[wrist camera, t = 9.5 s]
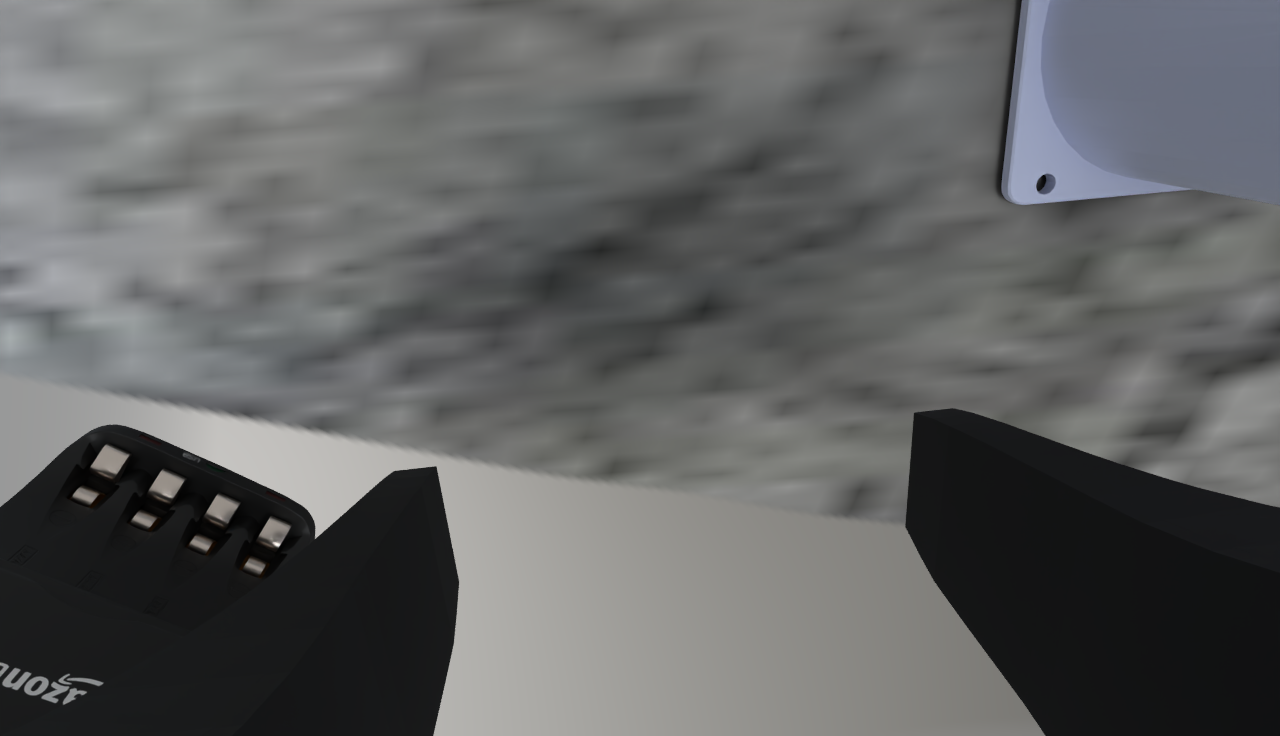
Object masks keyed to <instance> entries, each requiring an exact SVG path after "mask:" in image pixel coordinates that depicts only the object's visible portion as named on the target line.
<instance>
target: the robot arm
mask: <svg viewBox="0 0 1280 736" xmlns="http://www.w3.org/2000/svg"><path fill="white" fill-rule="evenodd" d="M1044 174H1045V176H1046V184H1045V186H1044V187H1043V188H1042V189H1041V190H1040V191H1037V189H1036V184H1037V181H1038V179H1039V178H1040V177H1041V176H1042V175H1044ZM1001 188H1002V194H1003V196H1004V198H1005V199H1006V200H1008V201H1009V202H1011V203H1015V204H1020V205H1029V204H1040V203H1051V202H1062V201H1072V200H1083V199H1094V198H1105V197H1116V196H1127V195H1138V194H1148V193H1159V192H1170V191H1181V190H1192V189H1194V190H1199V191H1205V192H1210V193H1215V194H1221V195H1226V196H1232V197H1237V198H1243V199H1248V200H1254V201H1259V202H1264V203H1270V204H1275V205H1280V0H1022V4H1021V13H1020V22H1019V31H1018V40H1017V49H1016V58H1015V67H1014V76H1013V85H1012V94H1011V103H1010V112H1009V121H1008V130H1007V139H1006V148H1005V157H1004V166H1003V175H1002V184H1001ZM905 527H906V529H907V530H908V533H909V534H910V537H911V539H912V540H913V543H914V544H915V546H916V548H917V551H918V552H919V554H920V556H921V558H922V560H923V562H924V563H925V565H926V567H927V569H928V571H929V572H930V574H931V576H932V578H933V580H934V581H935V583H936V584H937V586H938V587H939V589H940V590H941V591H942V593H943V594H944V596H945V597H946V598H947V600H948V601H949V603H950V604H951V605H952V607H953V608H954V609H955V611H956V612H957V614H958V615H959V616H960V618H961V619H962V620H963V622H964V623H965V625H966V626H967V627H968V628H969V630H970V631H971V633H972V634H973V635H974V637H975V638H976V639H977V641H978V642H979V643H980V645H981V646H982V648H983V649H984V650H985V652H986V653H987V654H988V656H989V657H990V658H991V660H992V661H993V662H994V664H995V665H996V666H997V668H998V669H999V670H1000V672H1001V673H1002V675H1003V676H1004V677H1005V679H1006V680H1007V681H1008V683H1009V684H1010V685H1011V687H1012V688H1013V689H1014V691H1015V692H1016V693H1017V695H1018V696H1019V698H1020V699H1021V700H1022V701H1023V703H1024V704H1025V706H1026V707H1027V709H1028V710H1029V712H1030V713H1031V715H1032V716H1033V718H1034V719H1035V721H1036V722H1037V723H1038V725H1039V727H1040V728H1041V730H1042V731H1043V733H1044V734H1045V735H1046V736H1280V508H1279V507H1274V506H1269V505H1265V504H1261V503H1257V502H1253V501H1249V500H1245V499H1241V498H1237V497H1233V496H1229V495H1225V494H1221V493H1217V492H1213V491H1209V490H1205V489H1201V488H1197V487H1194V486H1190V485H1187V484H1183V483H1180V482H1176V481H1173V480H1169V479H1166V478H1163V477H1160V476H1157V475H1153V474H1150V473H1147V472H1144V471H1141V470H1137V469H1134V468H1131V467H1128V466H1125V465H1121V464H1118V463H1116V462H1113V461H1110V460H1107V459H1104V458H1101V457H1098V456H1095V455H1092V454H1089V453H1086V452H1083V451H1080V450H1078V449H1075V448H1072V447H1069V446H1066V445H1064V444H1061V443H1058V442H1055V441H1052V440H1050V439H1047V438H1044V437H1041V436H1039V435H1036V434H1033V433H1030V432H1027V431H1025V430H1022V429H1019V428H1016V427H1014V426H1011V425H1008V424H1005V423H1002V422H999V421H996V420H993V419H990V418H987V417H984V416H981V415H978V414H974V413H971V412H967V411H963V410H958V409H953V408H952V409H943V410H934V411H925V412H916V413H914V421H913V434H912V447H911V460H910V473H909V486H908V499H907V512H906V526H905ZM458 588H459V579H458V574H457V569H456V564H455V559H454V554H453V549H452V544H451V538H450V533H449V528H448V523H447V518H446V513H445V508H444V503H443V498H442V493H441V487H440V483H439V477H438V473H437V467H426V468H418V469H409V470H400V471H394V472H392V473H391V474H390V475H388V476H387V477H386V478H384V479H383V480H382V481H381V482H379V483H378V484H377V485H376V486H375V487H374V488H373V489H372V490H370V491H369V492H368V493H367V494H366V495H365V496H364V497H362V499H360V500H359V501H358V502H357V503H356V504H355V505H354V506H352V507H351V508H350V509H349V510H348V511H347V512H346V513H345V514H343V515H342V516H341V517H340V518H339V519H338V520H337V521H335V522H334V523H333V524H332V525H331V526H330V527H329V528H328V529H326V530H325V531H324V532H323V533H322V534H321V535H319V536H318V537H317V538H316V539H315V540H314V541H313V542H311V543H310V544H309V545H308V546H307V547H305V548H304V549H303V550H301V551H300V552H299V553H298V554H296V555H295V556H294V557H293V558H291V559H290V560H289V561H288V562H286V563H285V564H284V565H283V566H281V567H280V568H279V569H278V570H276V571H275V572H274V573H273V574H271V575H270V576H269V577H268V578H266V579H265V580H264V581H263V582H261V583H260V584H259V585H258V586H256V587H255V588H254V589H252V590H251V591H250V592H248V593H247V594H246V595H244V596H243V597H241V598H240V599H239V600H237V601H236V602H234V603H233V604H232V605H230V606H229V607H227V608H226V609H224V610H223V611H222V612H220V613H219V614H217V615H216V616H214V617H213V618H211V619H209V620H208V621H206V622H205V623H203V624H202V625H200V626H199V627H197V628H196V629H194V630H193V631H191V632H190V633H188V634H187V635H185V636H184V637H182V638H181V639H179V640H177V641H176V642H174V643H173V644H171V645H169V646H168V647H166V648H164V649H162V650H161V651H159V652H157V653H155V654H154V655H152V656H150V657H148V658H147V659H145V660H143V661H142V662H140V663H138V664H136V665H135V666H133V667H131V668H129V669H128V670H126V671H124V672H122V673H121V674H119V675H117V676H115V677H114V678H112V679H110V680H109V681H107V682H105V683H103V684H102V685H100V686H98V687H96V688H95V689H93V690H91V691H89V692H87V693H85V694H84V695H82V696H80V697H78V698H76V699H74V700H72V701H70V702H68V703H66V704H64V705H62V706H60V707H58V708H57V709H55V710H53V711H51V712H49V713H47V714H45V715H43V716H41V717H39V718H37V719H35V720H33V721H31V722H29V723H27V724H25V725H23V726H21V727H18V728H16V729H14V730H12V731H10V732H8V733H6V734H4V735H2V736H433V734H434V730H435V725H436V721H437V716H438V711H439V708H440V703H441V699H442V695H443V690H444V686H445V681H446V676H447V672H448V667H449V663H450V658H451V654H452V649H453V644H454V635H455V625H456V615H457V602H458Z"/></svg>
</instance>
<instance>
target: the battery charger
mask: <svg viewBox="0 0 1280 736" xmlns="http://www.w3.org/2000/svg"><path fill="white" fill-rule="evenodd" d="M314 540H315V523H314V520H313V518H312V516H311V515H310V513H309V512H308V510H306V509H305V508H304V507H303V506H301V505H300V504H298V503H296V502H295V501H293V500H291V499H290V498H288V497H286V496H284V495H282V494H280V493H278V492H276V491H274V490H272V489H269V488H267V487H265V486H263V485H260V484H258V483H256V482H254V481H252V480H250V479H248V478H246V477H243V476H241V475H239V474H237V473H235V472H233V471H231V470H228V469H226V468H224V467H222V466H220V465H218V464H215V463H213V462H211V461H208V460H206V459H204V458H201V457H199V456H197V455H195V454H192V453H190V452H188V451H186V450H183V449H181V448H179V447H177V446H174V445H172V444H170V443H168V442H165V441H163V440H161V439H158V438H156V437H154V436H151V435H149V434H146V433H144V432H141V431H138V430H135V429H132V428H129V427H126V426H121V425H106V426H101V427H98V428H96V429H94V430H91V431H90V432H88V433H87V434H85V435H84V436H82V437H81V438H80V439H78V440H77V441H75V442H74V443H73V444H71V445H70V446H69V447H67V448H66V449H65V450H64V451H63V452H62V453H61V454H59V455H58V456H57V457H56V458H55V459H54V460H53V461H52V462H51V463H50V464H49V465H48V466H47V467H46V468H45V469H44V470H43V471H42V472H41V473H40V474H38V475H37V476H36V477H35V478H34V479H33V480H32V481H31V482H29V483H28V484H27V485H26V486H25V487H24V488H23V489H22V490H20V491H19V492H18V493H17V494H16V495H15V496H13V497H12V498H11V499H10V500H9V501H7V502H6V503H5V504H4V505H2V506H1V507H0V736H2V735H4V734H6V733H8V732H10V731H12V730H14V729H16V728H18V727H21V726H23V725H25V724H27V723H29V722H31V721H33V720H35V719H37V718H39V717H41V716H43V715H45V714H47V713H49V712H51V711H53V710H55V709H57V708H58V707H60V706H62V705H64V704H66V703H68V702H70V701H72V700H74V699H76V698H78V697H80V696H82V695H84V694H85V693H87V692H89V691H91V690H93V689H95V688H96V687H98V686H100V685H102V684H103V683H105V682H107V681H109V680H110V679H112V678H114V677H115V676H117V675H119V674H121V673H122V672H124V671H126V670H128V669H129V668H131V667H133V666H135V665H136V664H138V663H140V662H142V661H143V660H145V659H147V658H148V657H150V656H152V655H154V654H155V653H157V652H159V651H161V650H162V649H164V648H166V647H168V646H169V645H171V644H173V643H174V642H176V641H177V640H179V639H181V638H182V637H184V636H185V635H187V634H188V633H190V632H191V631H193V630H194V629H196V628H197V627H199V626H200V625H202V624H203V623H205V622H206V621H208V620H209V619H211V618H213V617H214V616H216V615H217V614H219V613H220V612H222V611H223V610H224V609H226V608H227V607H229V606H230V605H232V604H233V603H234V602H236V601H237V600H239V599H240V598H241V597H243V596H244V595H246V594H247V593H248V592H250V591H251V590H252V589H254V588H255V587H256V586H258V585H259V584H260V583H261V582H263V581H264V580H265V579H266V578H268V577H269V576H270V575H271V574H273V573H274V572H275V571H276V570H278V569H279V568H280V567H281V566H283V565H284V564H285V563H286V562H288V561H289V560H290V559H291V558H293V557H294V556H295V555H296V554H298V553H299V552H300V551H301V550H303V549H304V548H305V547H307V546H308V545H309V544H310V543H311V542H313V541H314Z"/></svg>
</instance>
